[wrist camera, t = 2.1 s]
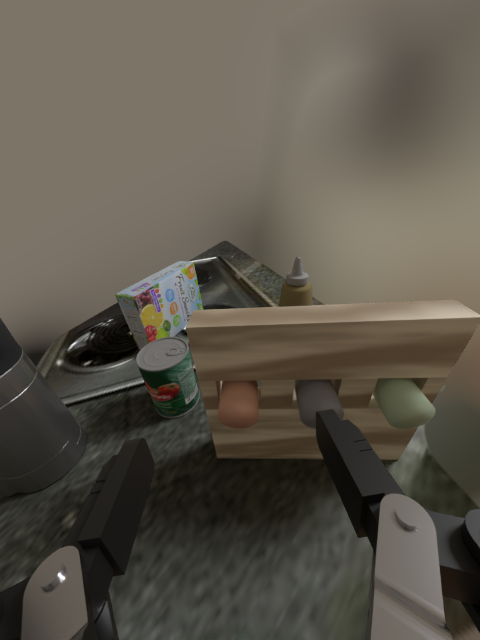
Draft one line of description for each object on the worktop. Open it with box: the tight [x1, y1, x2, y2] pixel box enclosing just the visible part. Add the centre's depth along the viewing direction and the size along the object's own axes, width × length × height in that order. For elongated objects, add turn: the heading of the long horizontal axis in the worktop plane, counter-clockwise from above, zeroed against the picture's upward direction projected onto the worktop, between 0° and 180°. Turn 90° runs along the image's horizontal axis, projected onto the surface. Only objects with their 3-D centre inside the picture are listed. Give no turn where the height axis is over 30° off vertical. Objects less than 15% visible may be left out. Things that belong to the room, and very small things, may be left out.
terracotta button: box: [218, 380, 259, 429], centre depth 24 cm, size 4×4×4 cm
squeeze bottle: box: [279, 257, 312, 307], centre depth 51 cm, size 8×8×18 cm
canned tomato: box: [136, 337, 200, 418], centre depth 37 cm, size 8×8×11 cm
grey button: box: [294, 379, 344, 429], centre depth 23 cm, size 4×4×4 cm
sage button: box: [372, 378, 435, 429], centre depth 22 cm, size 4×4×4 cm
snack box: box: [115, 261, 203, 350], centre depth 56 cm, size 21×6×15 cm, turn 156°
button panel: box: [186, 300, 480, 460], centre depth 29 cm, size 10×24×22 cm, turn 88°
